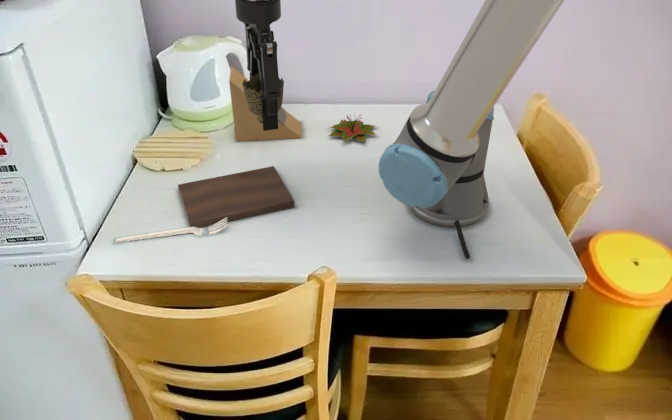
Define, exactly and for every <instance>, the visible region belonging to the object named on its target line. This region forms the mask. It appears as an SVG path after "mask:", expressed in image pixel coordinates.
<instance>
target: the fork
mask: <svg viewBox="0 0 672 420" xmlns="http://www.w3.org/2000/svg"><path fill="white" fill-rule="evenodd" d="M225 219H227V217H226V218H224V219H222V220H221V221H219V222H217V223H215V224H213V225H210V226H207V228H208V234H209V235H214V234H218V233H220V232H221V231H222V230H224V229H225V228H227V226H229V224H228V222H226V221H227V220H225ZM224 220H225V221H224ZM222 221H223V222H222ZM221 222H222V223H221ZM219 223H220V224H219ZM202 229H203V227H201V228H198V227H190V226H188V227H182V228H176V229H170V230H162V231H155V232H149V233H145V234H144V233H142V234H136V235H130V236H123V237H117V238H116V240H115V243H116V244H117V243H118V244H119V243H126V242H132V241H140V240H141V241H142V240H146V239H155V238H163V237H171V236H177V235H184V234H194V235H195V236H202V235H203V233H202V232H203V231H202Z"/></svg>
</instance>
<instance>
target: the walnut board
mask: <svg viewBox="0 0 672 420" xmlns="http://www.w3.org/2000/svg"><path fill="white" fill-rule="evenodd" d="M177 188H178V192H179V196H180V199H181V202H182V206H183V209H184V212H185V216H186V219H187V222H188V225H189V227H198V228H201V227H202V228H206V227H208V226H209V227H211V226H210V225H213V224H215V223H217V222H219V221H221V220H222V219H224V218H226V217H227V219H225V220H227V221H226V222H233V221H237V220H242V219H247V218H252V217H257V216H260V215H261V216H262V215H265V214H269V213H270V214H271V213H275V212H279V211H283V210H288V209H289V210H290V209H292V208H293V209H294V208H295V200H294V198H293V197H292V195H291V193H290V191H289V190H288V188H287V186H286V185H285V182H284V181H283V179H282V178H281V176H280V174H279V172H278V171H277V169H276V167H275V166H274V165H273V166H266V167H262V168H256V169H252V170H246V171H242V172H241V171H240V172H236V173H231V174H226V175H225V174H224V175H221V176H220V175H219V176H215V177H209V178H204V179H200V180H195V181H190V182H184V183H179V184H177ZM225 220H224V221H225ZM222 222H223V221H222ZM222 222H221V223H222ZM226 222H225V223H226ZM219 224H220V223H219Z"/></svg>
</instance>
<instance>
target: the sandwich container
mask: <svg viewBox="0 0 672 420" xmlns="http://www.w3.org/2000/svg"><path fill="white" fill-rule="evenodd" d="M244 79H245V80H246V82H247V81H250V79H248V78H247V77H245V76H244V75H243V74H242V73H241V72H240V71H239V70H237V69H236V68H235V67H234V66H230V73H229V79H228V83H229V92H230V101H231V110H232V117H233V118H232V119H233V126H234V134H235V142H251V141H252V142H253V141H254V142H255V141H272V140H275V141H276V140H290V139H302V138H303V134H302V133H303V132H302V131H303V130H302V129H303V128H302V125H301V121H300V120H298V119H297V118H296V117H295V116H293V115H292V114H291V113H289V112H288V111H287V110H286V109H284V108H283V107H282V106H281V109H280V110H279V112H278V129H274V130H268V131H264V130H263V124H262V123H259V122H258V121H257V120H256V115H254V114H253V113H252V112H251V111H250V110H249V108H248V105H247V102H246V97H245V93H244V88H243V84H242V82H243V80H244Z"/></svg>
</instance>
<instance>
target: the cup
mask: <svg viewBox="0 0 672 420" xmlns="http://www.w3.org/2000/svg"><path fill="white" fill-rule="evenodd" d="M242 84H243V88H244V93H245V97H246V102H247V105H248V108H249V110H250V111H251V112H252V113H253V114H254V115H256V120H257V121H258V122H259V123H262V124H263V122H262V107H261V100H259V97H258V96H262V89H261V81H260V74H257V75H256V76H255V77H254V76H253V75H250V74H249V81H247V82H246V80H245V79H244V80H243V82H242ZM284 84H285V80H284V79H283V77H281V78H279V88H280V98H277V111H278V112H279V110H280V109H281V107H282V105H283V99H284V88H285V87H284V86H285V85H284Z"/></svg>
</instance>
